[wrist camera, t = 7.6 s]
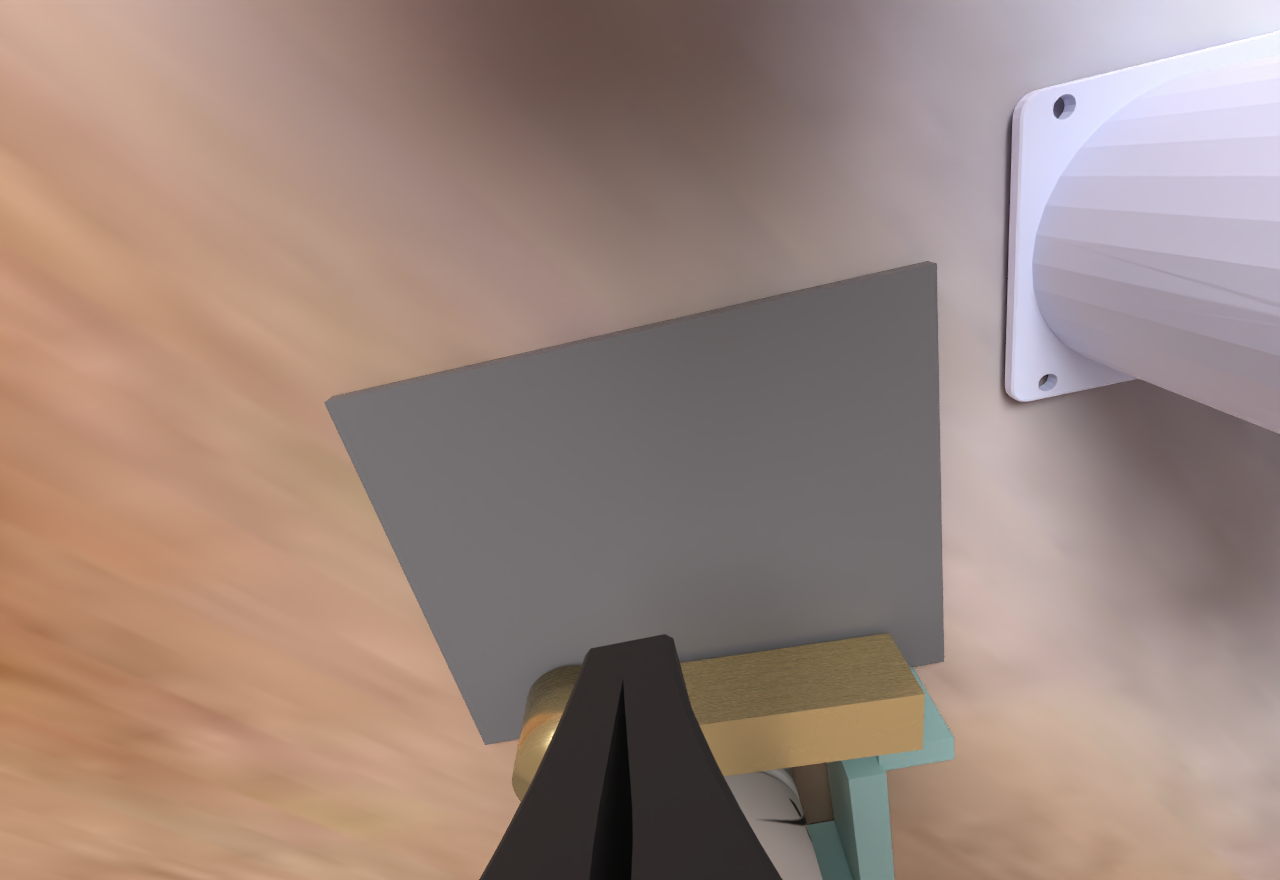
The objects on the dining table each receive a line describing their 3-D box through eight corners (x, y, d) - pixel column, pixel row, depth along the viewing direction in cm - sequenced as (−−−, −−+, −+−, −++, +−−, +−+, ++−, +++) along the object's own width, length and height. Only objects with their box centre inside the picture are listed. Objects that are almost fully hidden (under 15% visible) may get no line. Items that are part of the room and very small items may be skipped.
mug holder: (910, 662, 22) (959, 746, 19) (918, 824, 26) (960, 917, 22) (548, 728, 23) (535, 819, 20) (607, 875, 26) (605, 972, 23)
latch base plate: (927, 260, 16) (936, 263, 16) (937, 651, 22) (944, 661, 21) (332, 396, 17) (324, 402, 17) (488, 733, 23) (485, 744, 22)
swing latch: (539, 745, 22) (527, 827, 19) (515, 673, 20) (499, 749, 18) (888, 697, 21) (927, 773, 19) (889, 619, 20) (931, 689, 17)
